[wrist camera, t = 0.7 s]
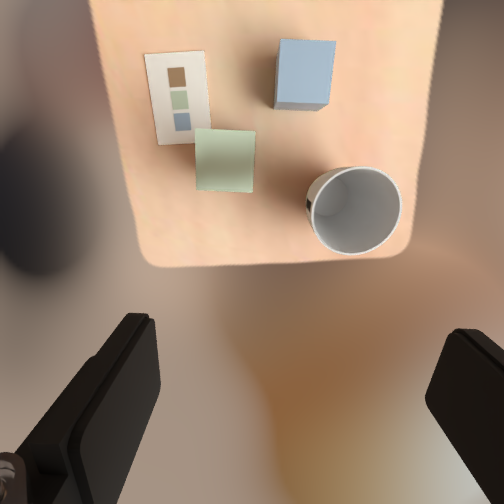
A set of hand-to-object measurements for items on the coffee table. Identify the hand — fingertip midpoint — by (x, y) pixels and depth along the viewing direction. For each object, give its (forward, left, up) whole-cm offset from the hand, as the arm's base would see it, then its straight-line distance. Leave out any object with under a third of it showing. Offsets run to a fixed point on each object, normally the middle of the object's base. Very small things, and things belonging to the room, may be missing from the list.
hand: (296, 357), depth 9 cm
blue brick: (-13, +3, -27) cm, 31 cm away
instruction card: (-11, -10, -27) cm, 31 cm away
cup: (-1, +8, -28) cm, 29 cm away
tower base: (-5, -4, -27) cm, 28 cm away
